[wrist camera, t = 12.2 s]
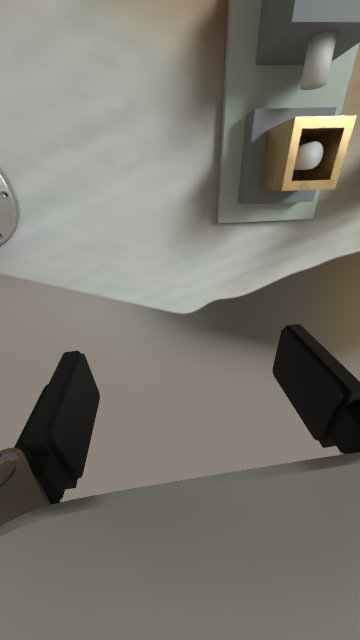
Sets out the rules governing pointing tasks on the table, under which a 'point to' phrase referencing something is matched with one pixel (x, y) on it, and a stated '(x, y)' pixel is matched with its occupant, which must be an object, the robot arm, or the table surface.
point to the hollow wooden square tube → (285, 146)
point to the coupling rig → (279, 95)
